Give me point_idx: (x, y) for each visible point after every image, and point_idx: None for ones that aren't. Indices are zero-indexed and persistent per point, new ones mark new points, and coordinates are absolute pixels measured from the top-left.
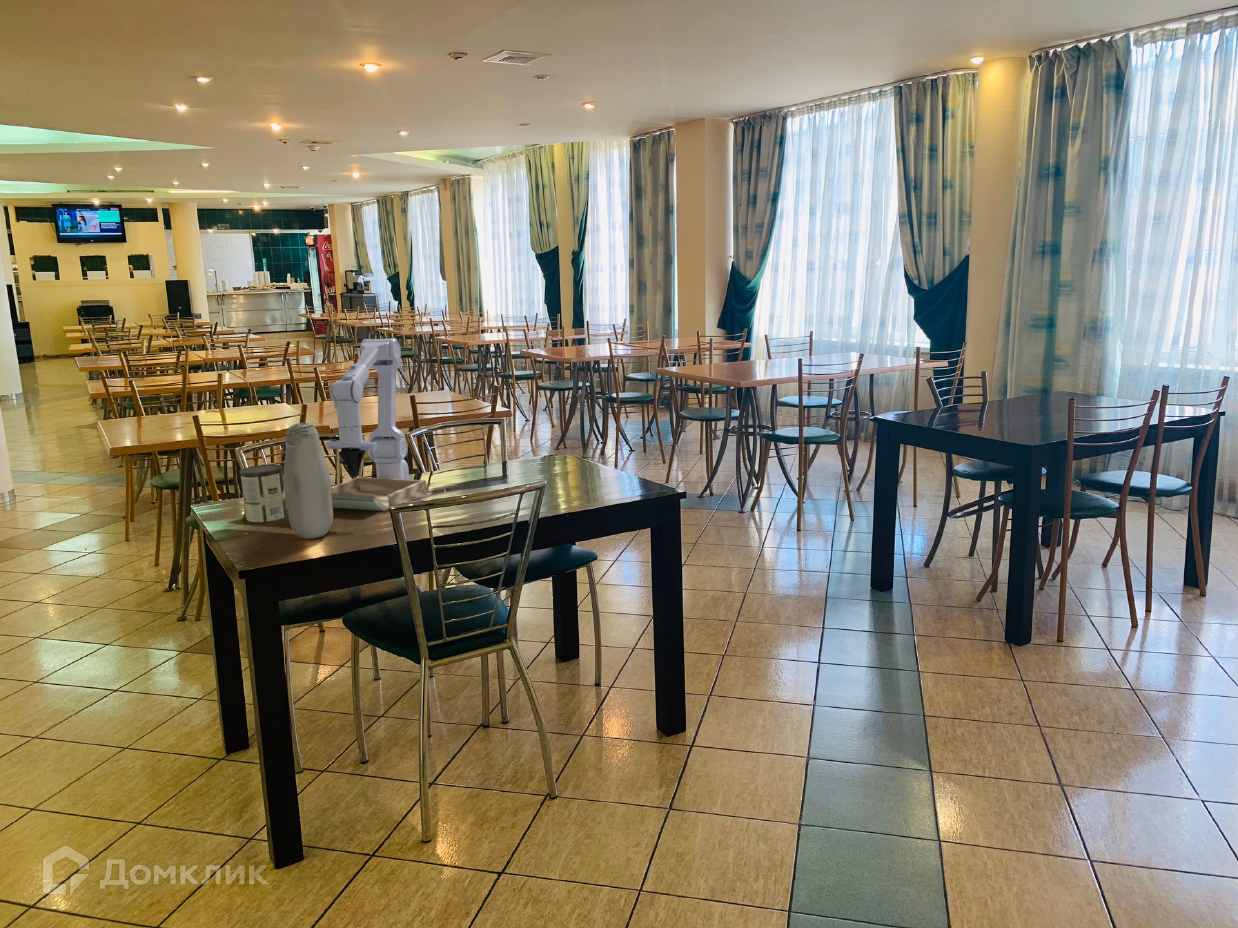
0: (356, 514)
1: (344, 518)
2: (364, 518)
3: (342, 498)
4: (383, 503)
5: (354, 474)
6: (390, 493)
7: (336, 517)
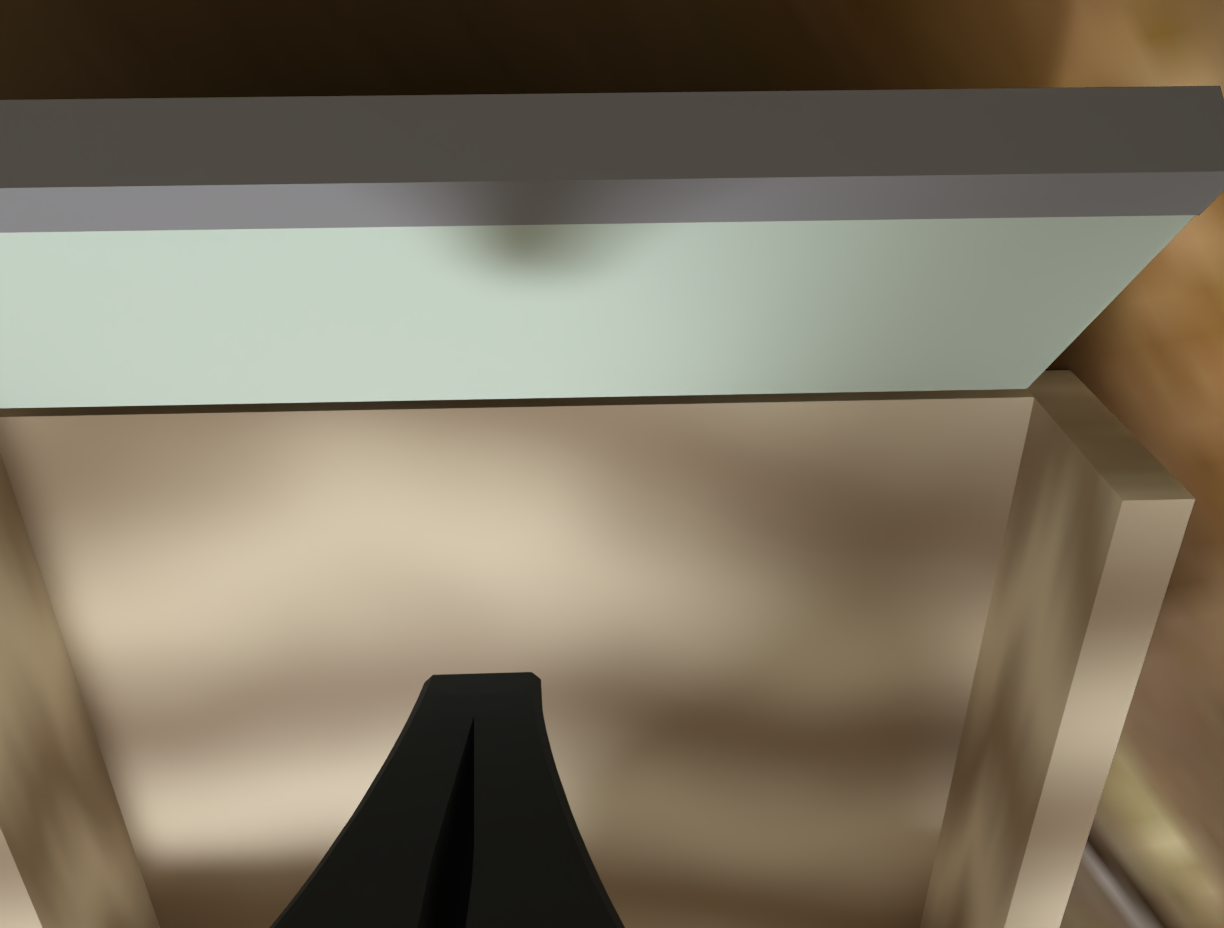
0: None
1: (449, 16)
2: (148, 90)
3: (427, 96)
4: (288, 615)
5: (411, 719)
6: None
7: (612, 39)
